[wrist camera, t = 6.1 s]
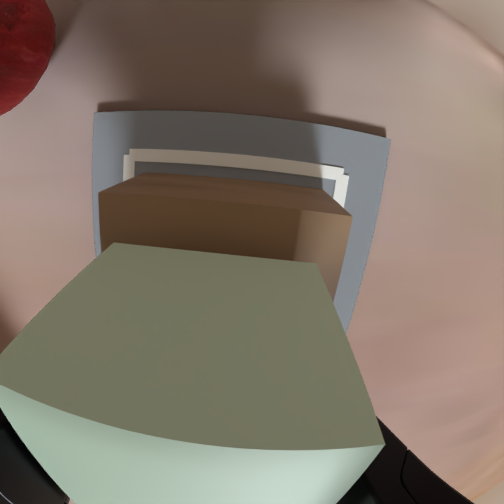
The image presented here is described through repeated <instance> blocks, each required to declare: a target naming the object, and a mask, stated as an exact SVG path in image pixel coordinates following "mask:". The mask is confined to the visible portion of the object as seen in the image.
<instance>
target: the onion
mask: <svg viewBox="0 0 504 504" xmlns="http://www.w3.org/2000/svg"><path fill="white" fill-rule="evenodd" d="M54 46H55V22H54V19H53V15H52V13H51V11H50V10H49V8H48V6H47V4H46V2H45V0H0V115H2V114H4V113H6V112H8V111H10V110H11V109H13V108H14V107H15V106H17V105H18V104H19V103H21V102H22V100H23V99H24V98H25V97H26V96H27V95H28V94H29V93H30V92H31V91H32V90H33V89H34V88H35V86H36V85H37V83H38V81H39V80H40V78H41V76H42V75H43V73H44V72H45V70H46V69H47V66H48V63H49V60H50V57H51V54H52V51H53V49H54Z"/></svg>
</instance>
